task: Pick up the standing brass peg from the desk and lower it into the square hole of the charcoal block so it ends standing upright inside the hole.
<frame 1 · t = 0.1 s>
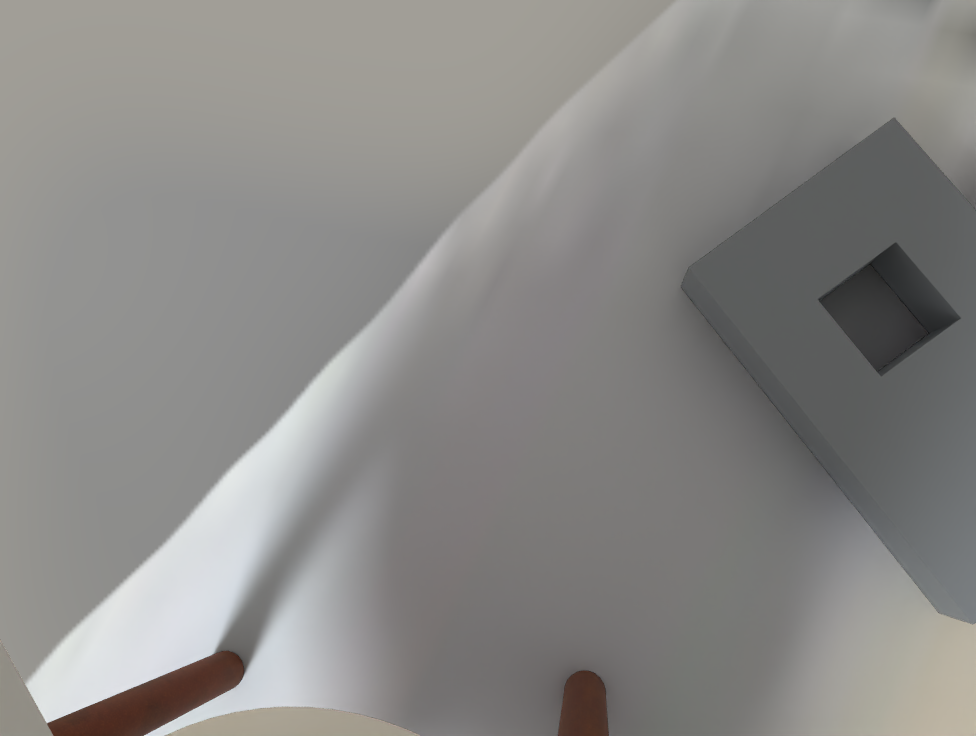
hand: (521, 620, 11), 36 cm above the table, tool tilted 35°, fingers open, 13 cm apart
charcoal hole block: (902, 372, 46), on the table
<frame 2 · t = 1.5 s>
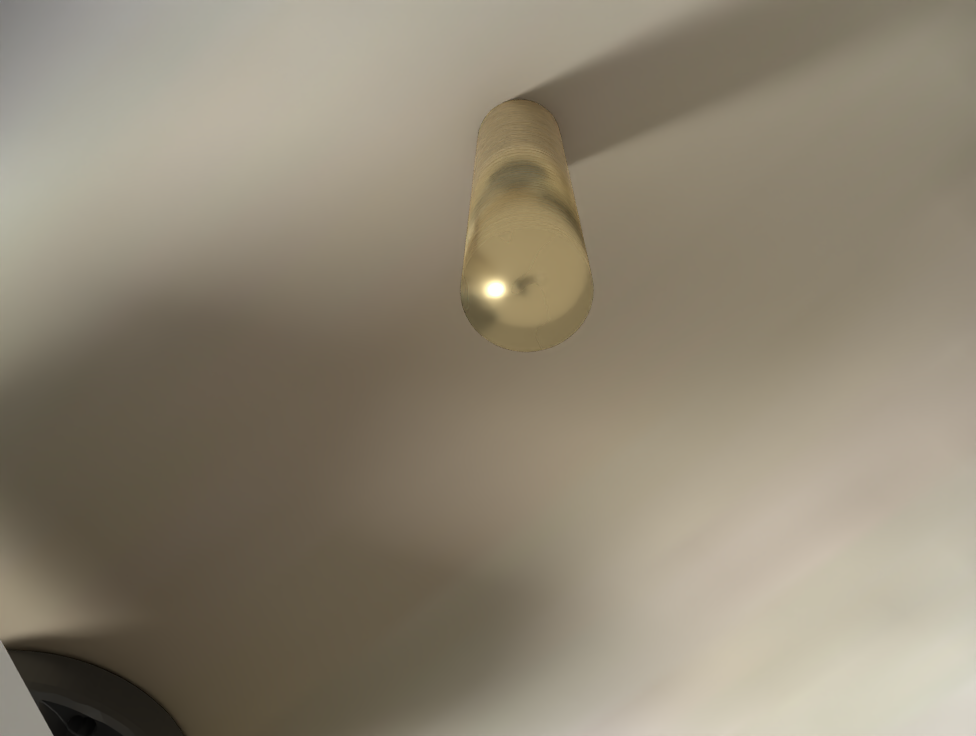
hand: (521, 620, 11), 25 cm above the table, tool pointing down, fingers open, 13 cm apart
brass peg: (519, 141, 33), on the table
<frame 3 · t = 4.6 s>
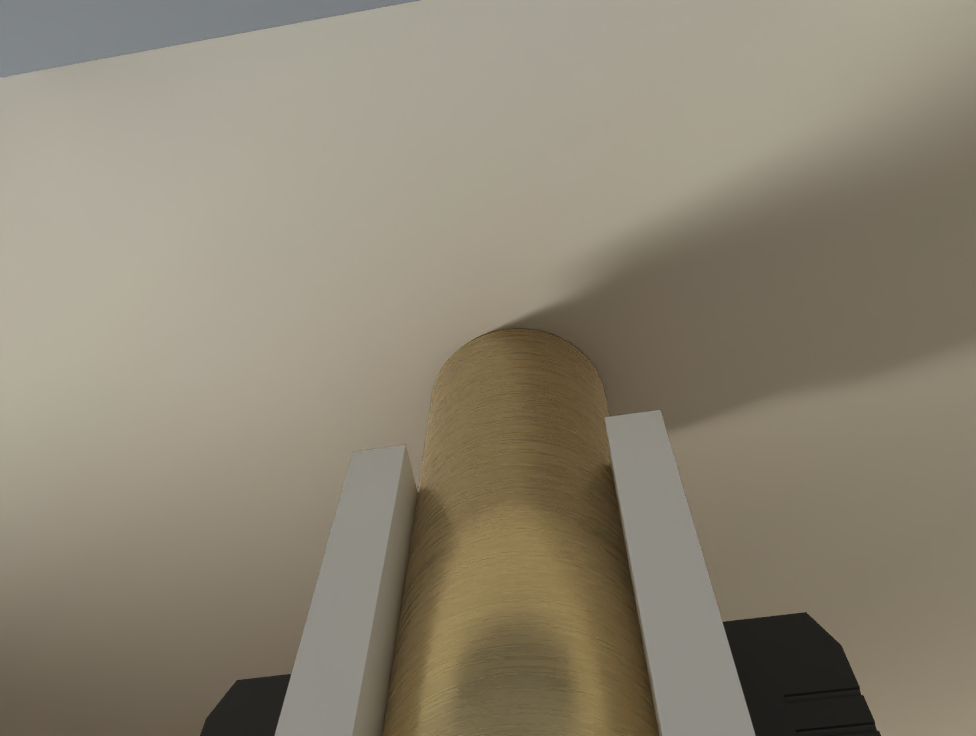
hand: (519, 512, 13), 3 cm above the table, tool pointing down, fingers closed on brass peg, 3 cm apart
brass peg: (518, 407, 16), on the table, touching gripper
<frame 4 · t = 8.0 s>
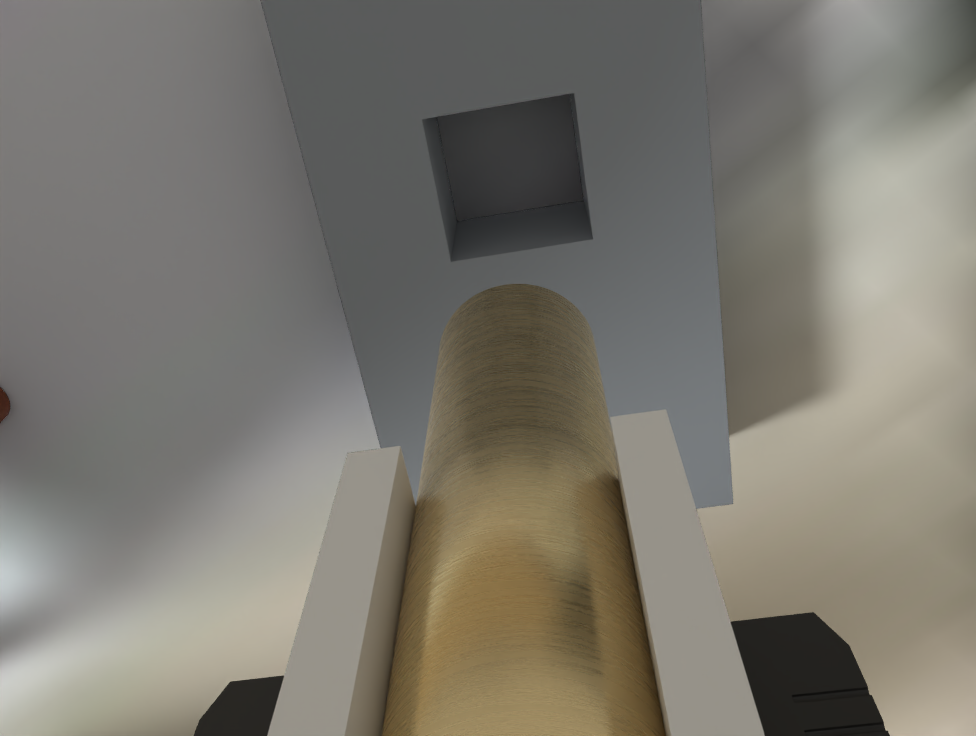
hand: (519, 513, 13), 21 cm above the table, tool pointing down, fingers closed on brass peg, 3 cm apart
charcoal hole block: (523, 231, 33), on the table
brass peg: (517, 356, 18), point 16 cm above the table, touching gripper
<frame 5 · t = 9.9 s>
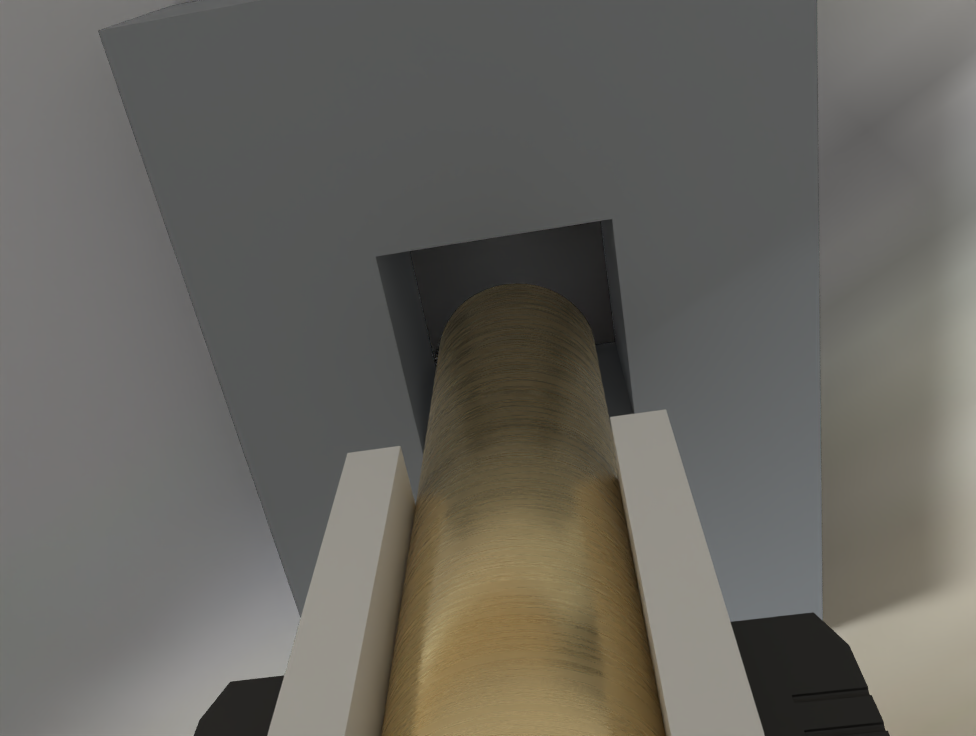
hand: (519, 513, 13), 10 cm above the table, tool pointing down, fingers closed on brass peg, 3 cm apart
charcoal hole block: (529, 381, 23), on the table
brass peg: (517, 356, 18), point 5 cm above the table, touching gripper
when the fingers open (6 cm above the table, at t = 11.7 s): brass peg stays where it is, resting in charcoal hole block.
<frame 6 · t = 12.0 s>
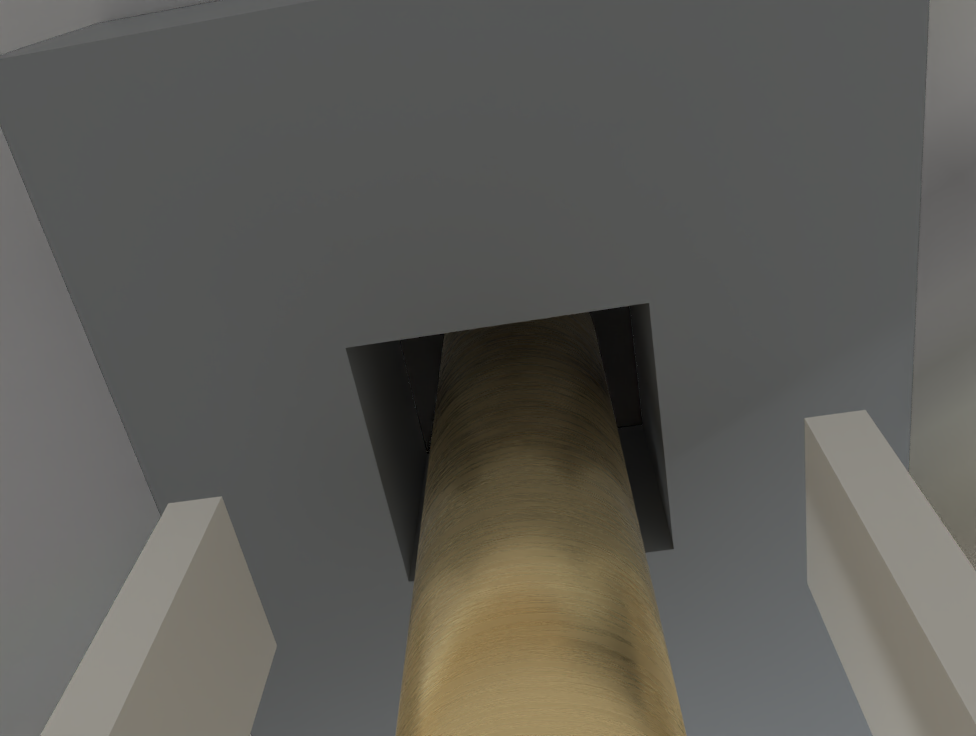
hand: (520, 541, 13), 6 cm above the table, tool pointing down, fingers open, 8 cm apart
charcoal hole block: (538, 469, 19), on the table
brass peg: (519, 346, 18), resting in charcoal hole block
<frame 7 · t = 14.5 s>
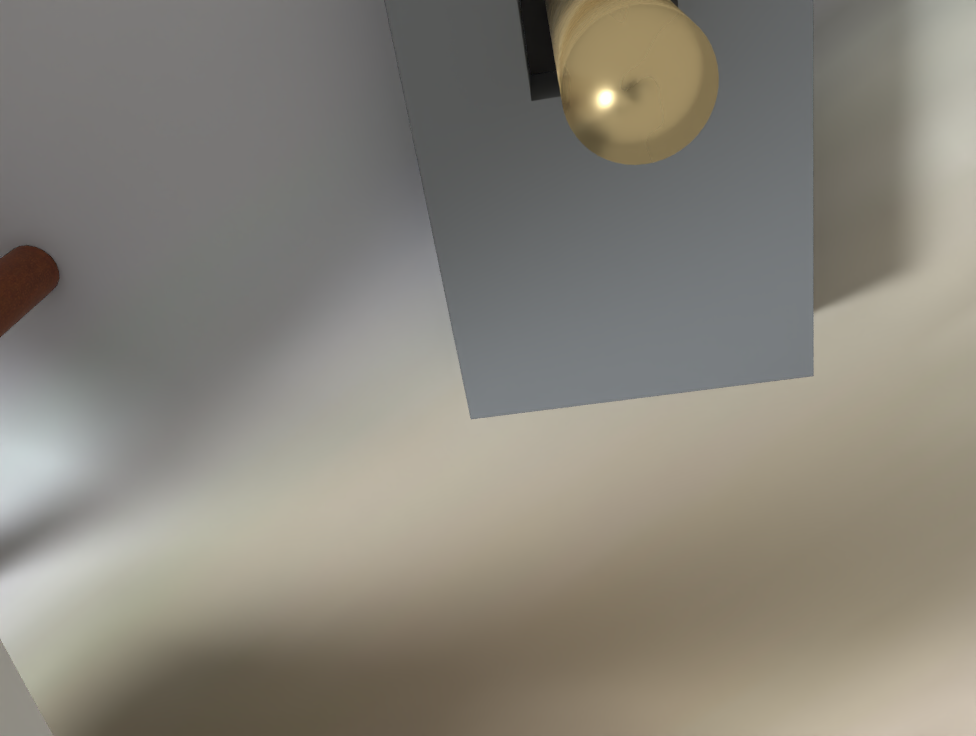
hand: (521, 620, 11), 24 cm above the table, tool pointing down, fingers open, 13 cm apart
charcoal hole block: (599, 86, 31), on the table
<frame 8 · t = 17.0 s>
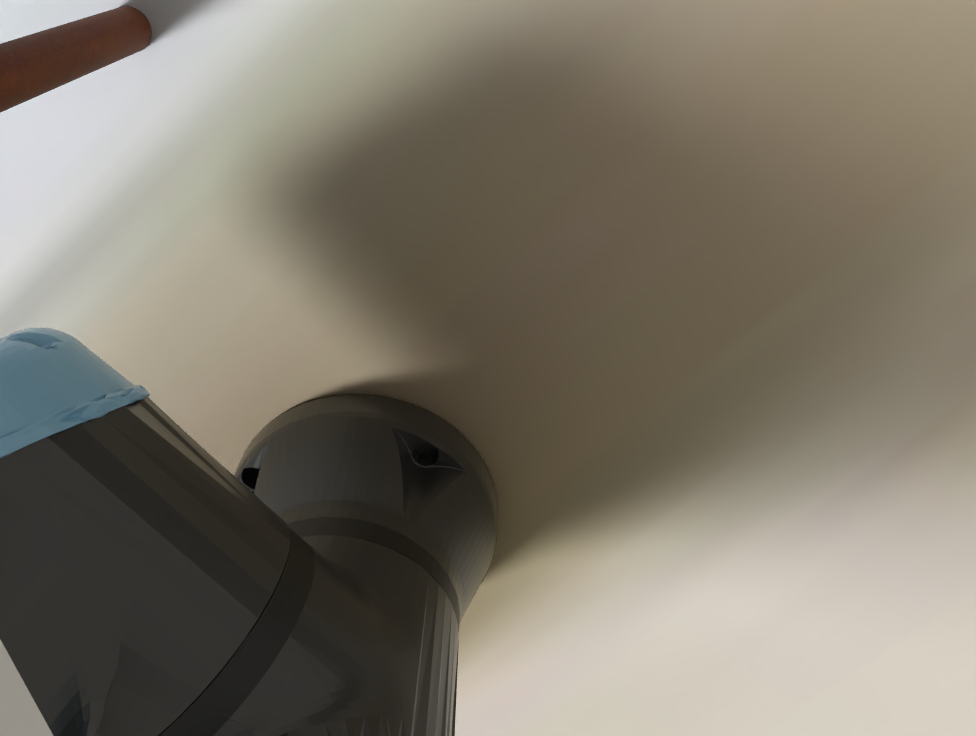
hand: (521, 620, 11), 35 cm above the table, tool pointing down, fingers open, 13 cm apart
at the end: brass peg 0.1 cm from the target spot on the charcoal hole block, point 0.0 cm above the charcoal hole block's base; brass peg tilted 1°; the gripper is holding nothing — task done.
